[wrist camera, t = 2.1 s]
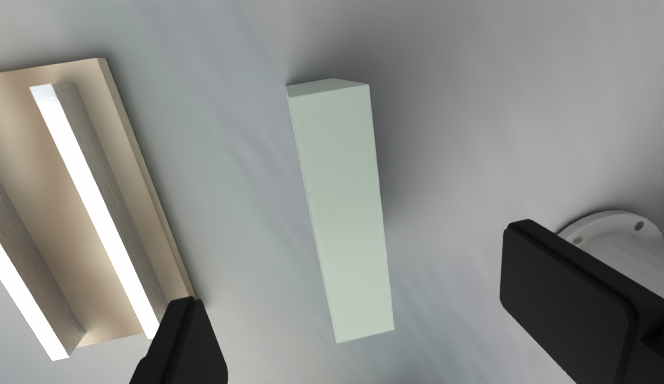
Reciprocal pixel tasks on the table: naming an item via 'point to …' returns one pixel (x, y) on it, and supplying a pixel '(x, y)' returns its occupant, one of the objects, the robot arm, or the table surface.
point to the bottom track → (80, 211)
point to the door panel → (344, 202)
